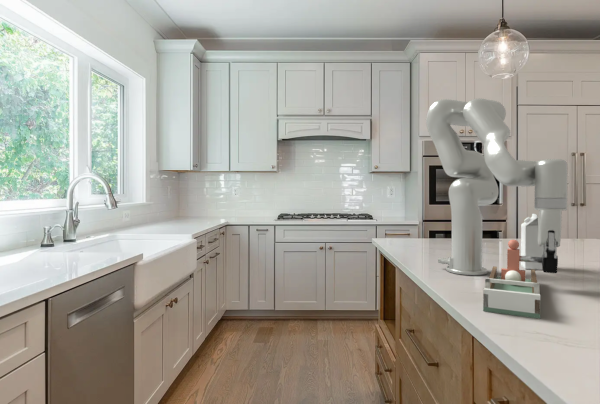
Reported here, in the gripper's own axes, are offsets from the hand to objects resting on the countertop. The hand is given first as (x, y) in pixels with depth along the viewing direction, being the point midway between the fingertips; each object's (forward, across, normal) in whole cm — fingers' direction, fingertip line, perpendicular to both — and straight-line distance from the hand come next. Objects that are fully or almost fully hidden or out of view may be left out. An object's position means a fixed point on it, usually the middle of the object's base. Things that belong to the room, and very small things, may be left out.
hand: (549, 270), depth 106 cm
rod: (+4, 0, -5) cm, 6 cm away
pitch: (+5, +12, -9) cm, 15 cm away
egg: (+2, +3, -9) cm, 10 cm away
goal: (+4, +27, -9) cm, 28 cm away
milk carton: (+5, -32, -3) cm, 33 cm away
